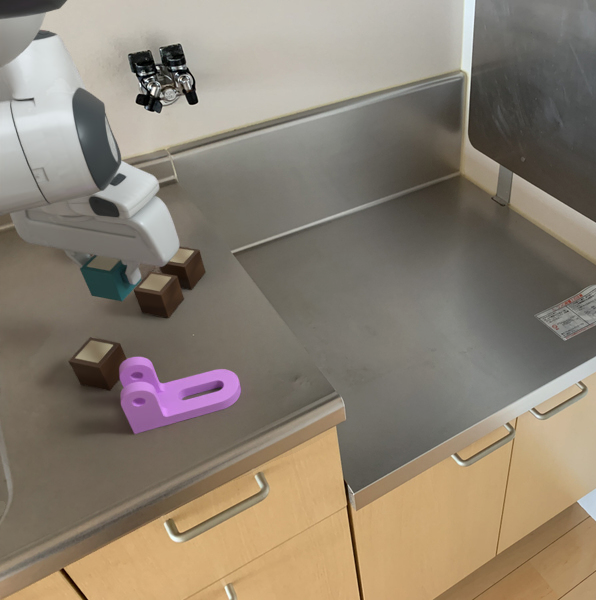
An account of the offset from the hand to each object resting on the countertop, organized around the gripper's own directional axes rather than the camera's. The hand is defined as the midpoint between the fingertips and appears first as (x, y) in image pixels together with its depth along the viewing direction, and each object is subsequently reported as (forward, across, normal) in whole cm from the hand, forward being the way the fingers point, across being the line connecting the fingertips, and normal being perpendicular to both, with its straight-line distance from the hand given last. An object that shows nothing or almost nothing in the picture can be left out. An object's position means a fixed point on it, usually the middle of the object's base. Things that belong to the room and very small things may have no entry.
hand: (113, 277), depth 77 cm
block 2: (+11, 0, +7) cm, 13 cm away
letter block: (+2, 0, 0) cm, 2 cm away
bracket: (+11, +12, -8) cm, 19 cm away
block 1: (+11, 0, -7) cm, 13 cm away
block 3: (+11, 0, +13) cm, 17 cm away
